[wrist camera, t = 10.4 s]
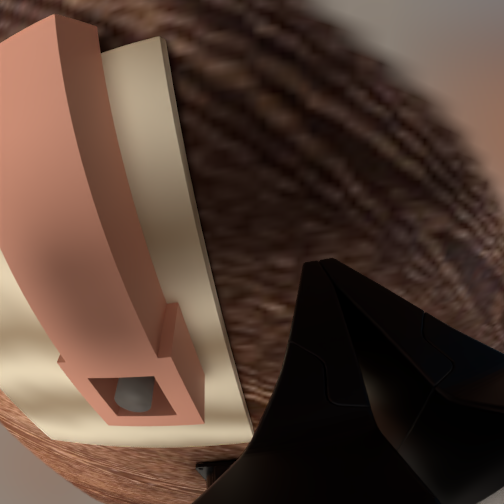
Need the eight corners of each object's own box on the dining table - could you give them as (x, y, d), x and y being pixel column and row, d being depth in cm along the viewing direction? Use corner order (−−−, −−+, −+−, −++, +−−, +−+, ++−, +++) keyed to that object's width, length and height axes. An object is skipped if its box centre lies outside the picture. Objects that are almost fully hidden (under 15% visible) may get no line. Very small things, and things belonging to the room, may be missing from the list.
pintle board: (253, 428, 21) (258, 479, 18) (54, 428, 21) (44, 468, 17) (165, 40, 9) (132, 19, 5) (-101, 176, 9) (-147, 208, 5)
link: (204, 374, 16) (204, 423, 13) (118, 380, 16) (108, 425, 13) (111, 21, 7) (72, 5, 5) (-5, 75, 7) (-57, 84, 5)
